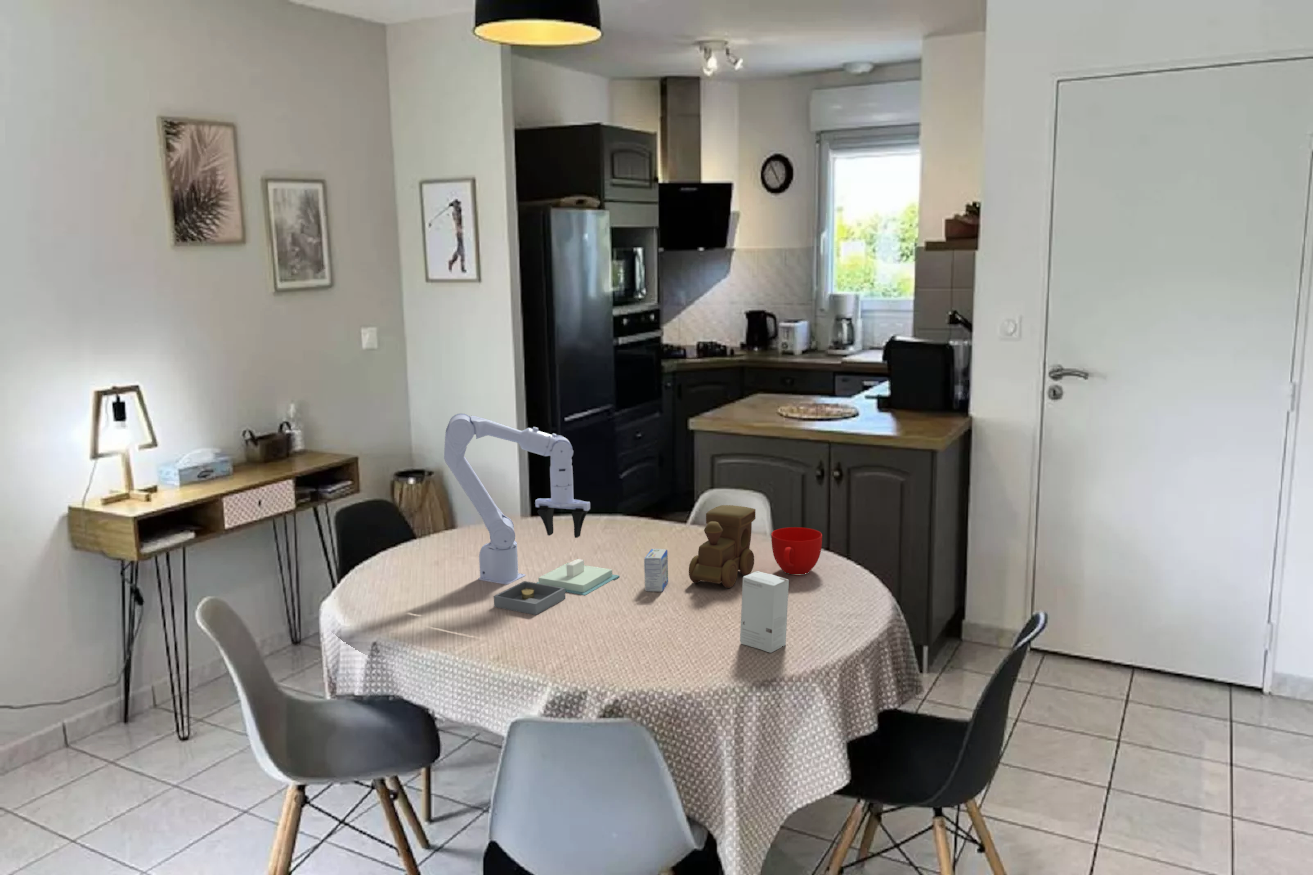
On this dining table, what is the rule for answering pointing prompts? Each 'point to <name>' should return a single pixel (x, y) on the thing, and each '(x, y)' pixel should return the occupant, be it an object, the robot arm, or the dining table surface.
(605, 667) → the dining table surface
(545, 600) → the tub
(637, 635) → the dining table surface
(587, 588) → the lid
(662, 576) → the medicine box
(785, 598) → the skincare box
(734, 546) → the wooden toy train
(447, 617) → the dining table surface
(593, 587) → the mat
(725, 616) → the dining table surface
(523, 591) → the bowl
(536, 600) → the steel block
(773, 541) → the ceramic cup
